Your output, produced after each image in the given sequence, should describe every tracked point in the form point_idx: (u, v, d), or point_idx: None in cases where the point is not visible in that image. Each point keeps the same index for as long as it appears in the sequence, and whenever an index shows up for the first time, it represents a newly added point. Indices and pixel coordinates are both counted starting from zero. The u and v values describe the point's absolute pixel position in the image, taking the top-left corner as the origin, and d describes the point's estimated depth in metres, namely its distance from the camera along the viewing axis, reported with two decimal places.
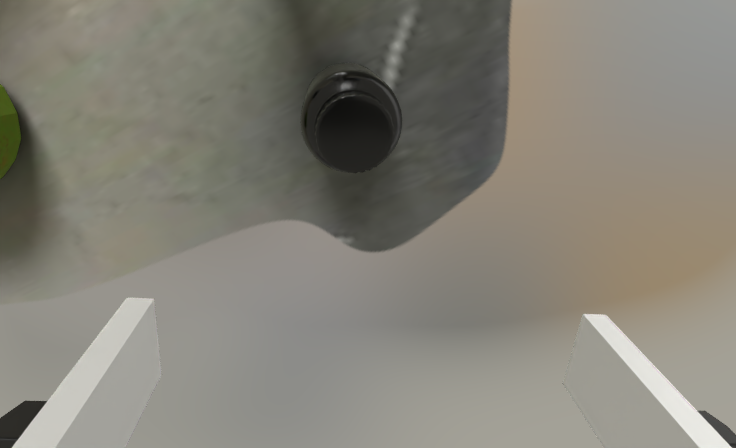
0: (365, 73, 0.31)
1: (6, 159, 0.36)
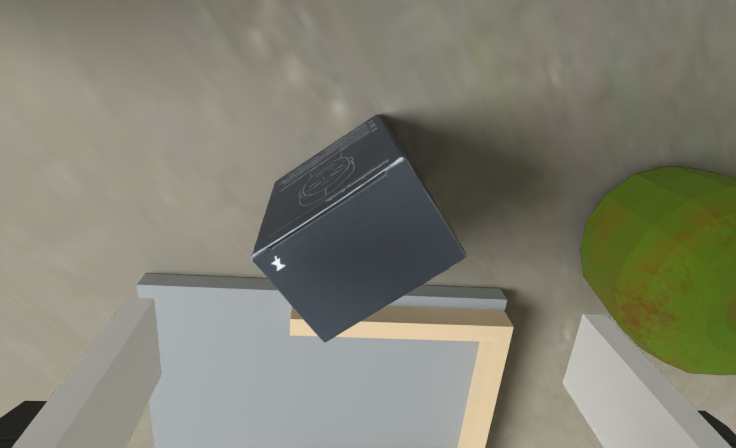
0: None
1: None
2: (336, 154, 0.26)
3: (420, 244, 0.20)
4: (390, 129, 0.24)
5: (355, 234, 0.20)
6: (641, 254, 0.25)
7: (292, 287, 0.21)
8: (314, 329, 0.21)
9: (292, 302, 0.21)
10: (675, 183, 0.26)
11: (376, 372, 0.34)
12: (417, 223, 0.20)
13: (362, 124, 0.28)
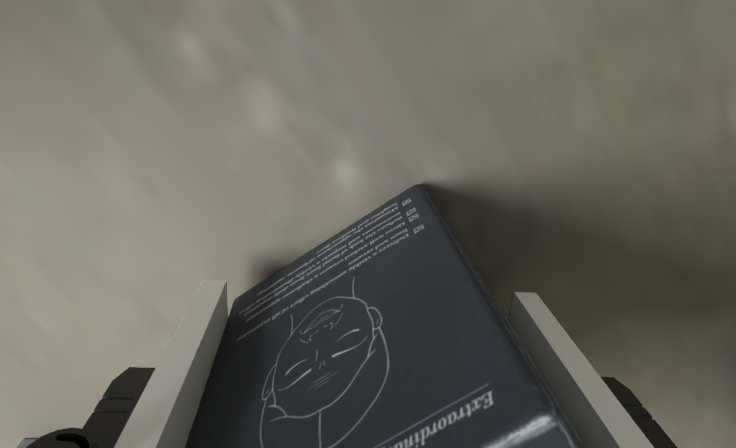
0: None
1: None
2: (343, 277, 0.13)
3: None
4: (455, 237, 0.12)
5: None
6: None
7: None
8: None
9: None
10: None
11: None
12: None
13: (389, 203, 0.16)
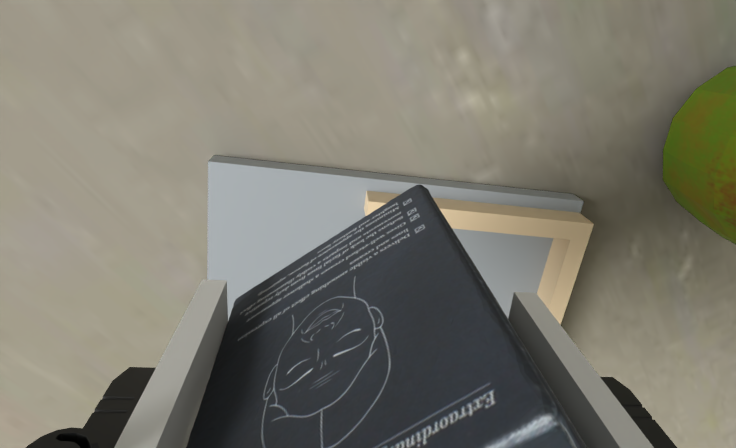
0: None
1: None
2: (344, 276, 0.13)
3: None
4: (456, 237, 0.12)
5: None
6: None
7: None
8: None
9: None
10: None
11: None
12: None
13: (390, 202, 0.16)
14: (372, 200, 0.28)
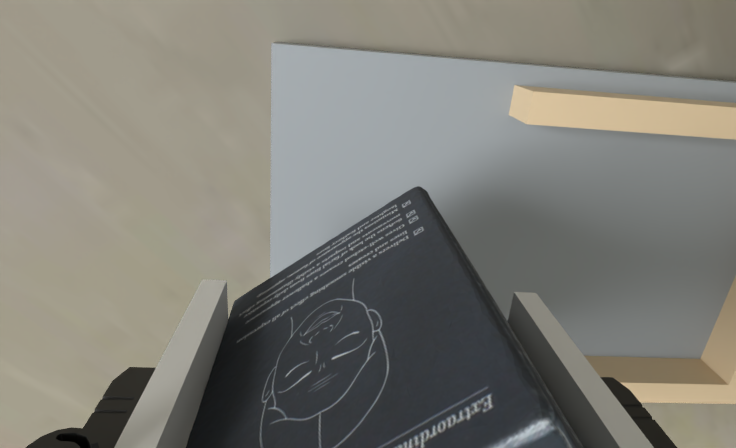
0: None
1: None
2: (343, 279, 0.13)
3: None
4: (455, 239, 0.12)
5: None
6: None
7: None
8: None
9: None
10: None
11: (616, 219, 0.22)
12: None
13: (389, 204, 0.16)
14: (537, 91, 0.18)
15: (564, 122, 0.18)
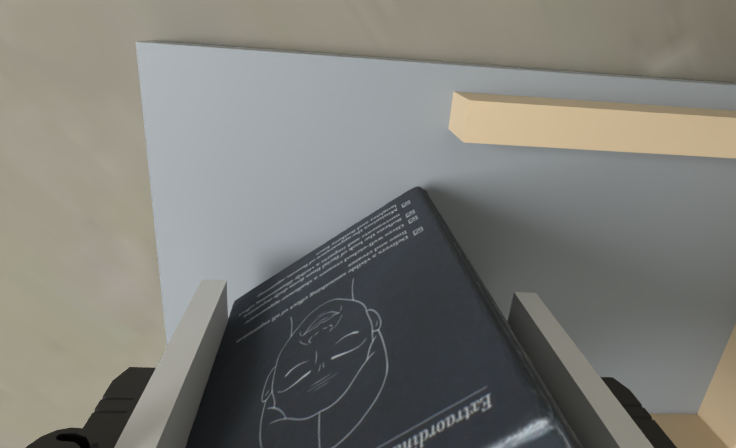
0: None
1: None
2: (342, 278, 0.13)
3: None
4: (454, 239, 0.12)
5: None
6: None
7: None
8: None
9: None
10: None
11: (590, 254, 0.18)
12: None
13: (389, 204, 0.16)
14: (476, 99, 0.14)
15: (512, 139, 0.14)
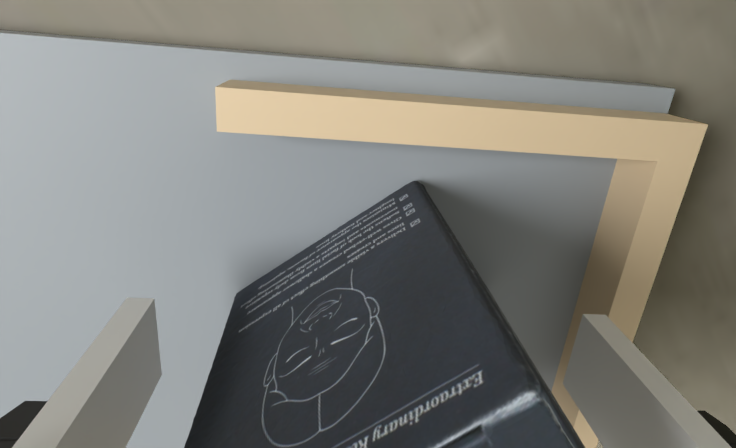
0: None
1: None
2: (342, 269, 0.13)
3: None
4: (450, 230, 0.12)
5: None
6: None
7: None
8: None
9: None
10: None
11: None
12: None
13: (387, 198, 0.16)
14: (226, 86, 0.13)
15: (269, 129, 0.13)
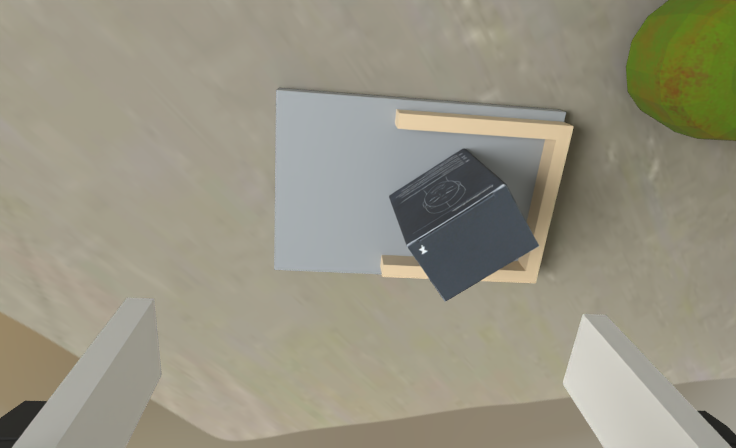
0: None
1: None
2: (441, 177, 0.38)
3: (511, 237, 0.32)
4: (480, 161, 0.37)
5: (472, 231, 0.32)
6: (680, 35, 0.33)
7: (430, 264, 0.33)
8: (440, 292, 0.34)
9: (429, 274, 0.33)
10: None
11: None
12: (510, 224, 0.32)
13: (453, 155, 0.40)
14: (402, 113, 0.37)
15: (416, 127, 0.38)
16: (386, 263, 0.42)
